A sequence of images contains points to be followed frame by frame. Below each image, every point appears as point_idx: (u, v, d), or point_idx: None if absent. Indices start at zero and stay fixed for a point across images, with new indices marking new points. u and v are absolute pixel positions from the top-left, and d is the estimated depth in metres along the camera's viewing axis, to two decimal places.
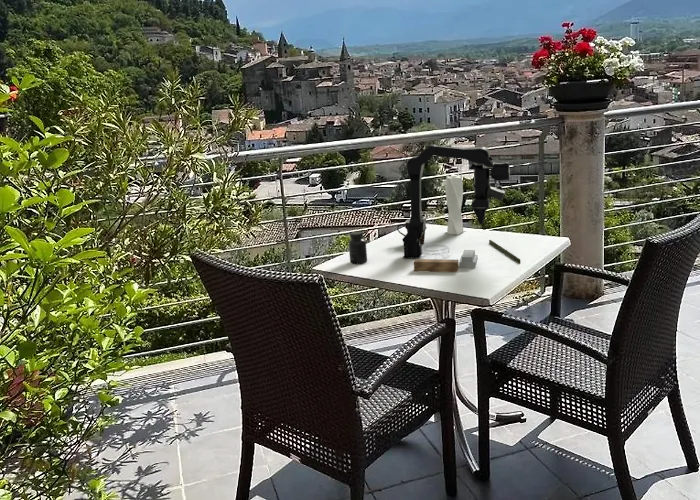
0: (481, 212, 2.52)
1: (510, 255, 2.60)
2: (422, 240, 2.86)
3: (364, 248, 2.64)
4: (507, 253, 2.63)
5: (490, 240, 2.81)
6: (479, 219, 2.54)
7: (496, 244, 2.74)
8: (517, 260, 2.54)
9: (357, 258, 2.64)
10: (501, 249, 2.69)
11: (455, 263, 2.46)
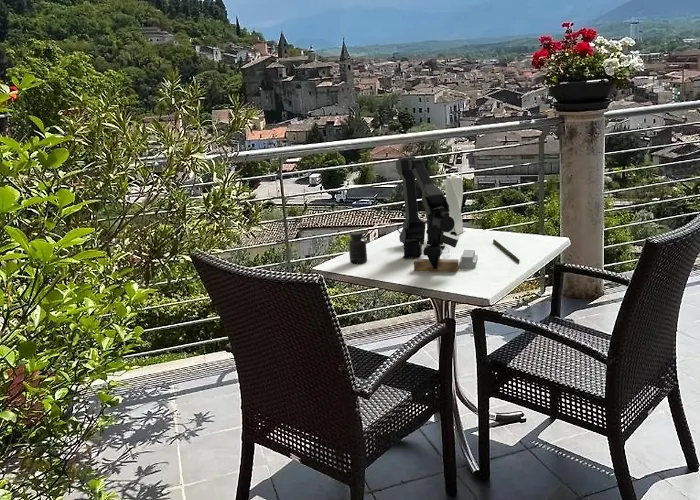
0: (435, 257, 2.46)
1: (510, 255, 2.60)
2: None
3: (364, 248, 2.64)
4: (508, 253, 2.63)
5: (494, 240, 2.81)
6: (433, 264, 2.48)
7: (499, 244, 2.74)
8: (516, 260, 2.54)
9: (357, 258, 2.64)
10: (503, 249, 2.69)
11: (455, 263, 2.46)
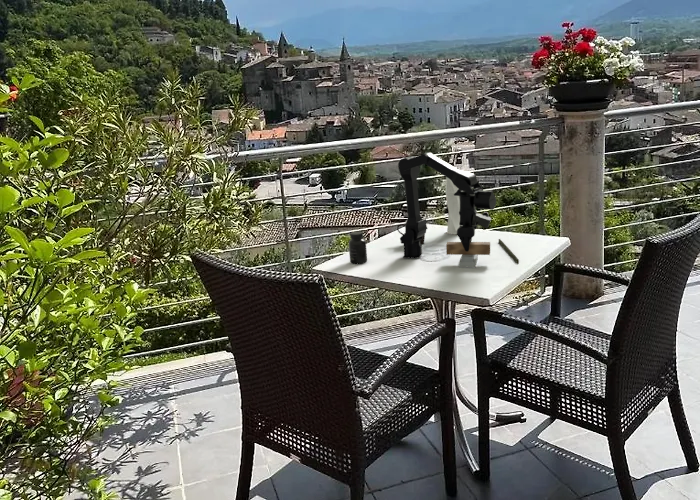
0: (467, 239, 2.48)
1: (512, 255, 2.60)
2: (422, 240, 2.86)
3: (364, 248, 2.64)
4: (510, 253, 2.63)
5: (499, 239, 2.81)
6: (465, 246, 2.50)
7: (503, 243, 2.74)
8: (516, 260, 2.54)
9: (357, 258, 2.64)
10: (506, 249, 2.69)
11: (487, 245, 2.51)
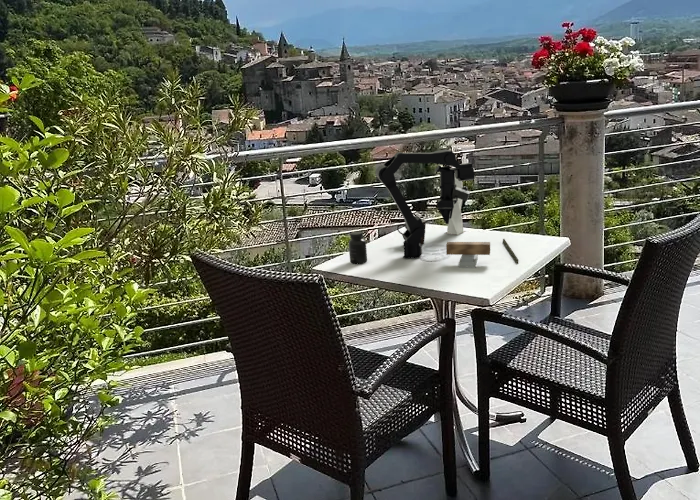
0: (446, 212, 2.62)
1: (512, 255, 2.60)
2: (422, 240, 2.86)
3: (364, 248, 2.64)
4: (511, 253, 2.63)
5: (503, 239, 2.81)
6: (445, 219, 2.64)
7: (506, 243, 2.74)
8: (516, 260, 2.54)
9: (357, 258, 2.64)
10: (508, 248, 2.69)
11: (487, 245, 2.51)
